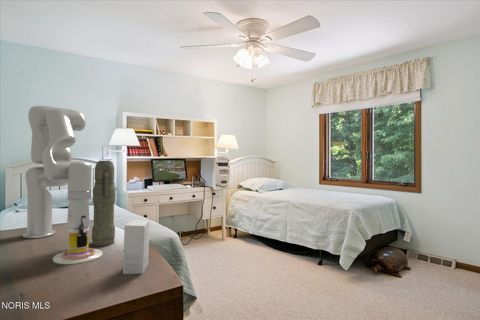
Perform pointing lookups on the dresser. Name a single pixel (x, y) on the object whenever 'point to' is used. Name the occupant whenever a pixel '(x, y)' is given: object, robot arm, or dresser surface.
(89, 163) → the robot arm
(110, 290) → the dresser surface
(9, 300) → the dresser surface
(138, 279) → the dresser surface
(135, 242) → the skincare box
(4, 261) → the dresser surface
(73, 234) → the supplement bottle
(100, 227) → the olive tall rounded piece
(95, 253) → the ring stand
